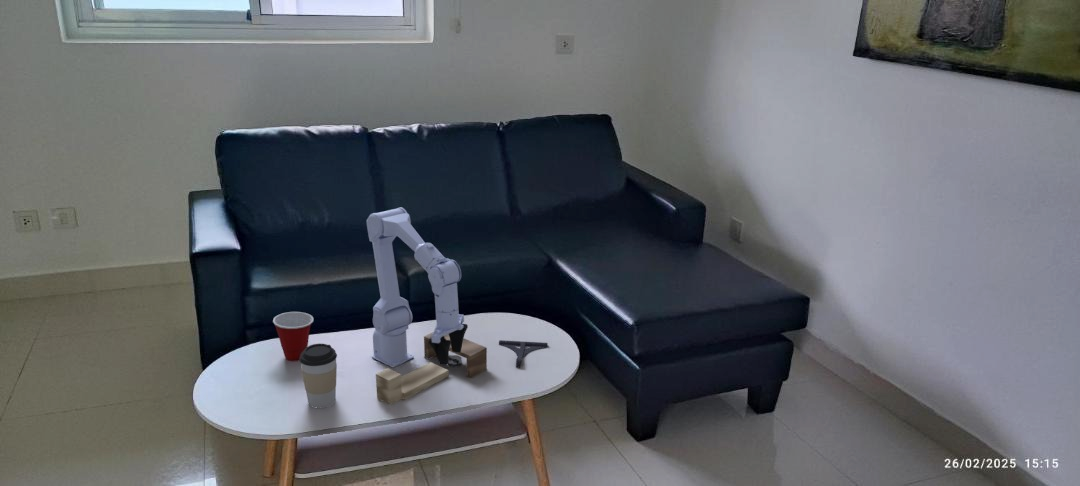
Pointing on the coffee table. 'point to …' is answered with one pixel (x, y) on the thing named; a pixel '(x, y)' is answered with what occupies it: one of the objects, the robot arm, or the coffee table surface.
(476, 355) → the walnut shelf
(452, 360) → the steel puck
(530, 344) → the bracket
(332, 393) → the coffee cup
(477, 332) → the coffee table surface
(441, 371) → the oak l-shaped block
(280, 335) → the plastic cup
